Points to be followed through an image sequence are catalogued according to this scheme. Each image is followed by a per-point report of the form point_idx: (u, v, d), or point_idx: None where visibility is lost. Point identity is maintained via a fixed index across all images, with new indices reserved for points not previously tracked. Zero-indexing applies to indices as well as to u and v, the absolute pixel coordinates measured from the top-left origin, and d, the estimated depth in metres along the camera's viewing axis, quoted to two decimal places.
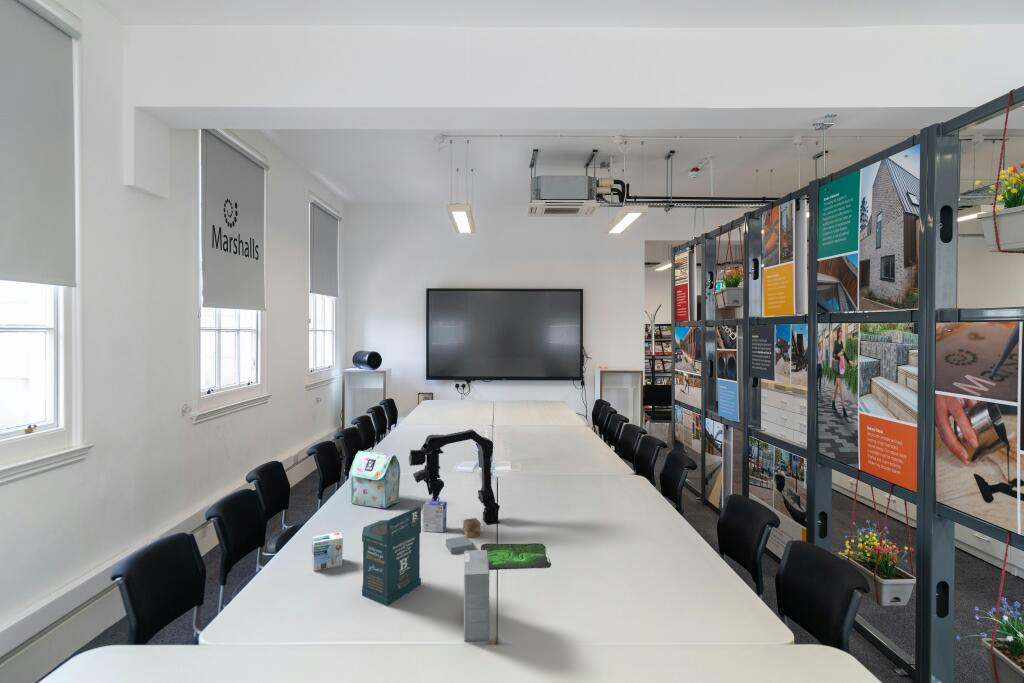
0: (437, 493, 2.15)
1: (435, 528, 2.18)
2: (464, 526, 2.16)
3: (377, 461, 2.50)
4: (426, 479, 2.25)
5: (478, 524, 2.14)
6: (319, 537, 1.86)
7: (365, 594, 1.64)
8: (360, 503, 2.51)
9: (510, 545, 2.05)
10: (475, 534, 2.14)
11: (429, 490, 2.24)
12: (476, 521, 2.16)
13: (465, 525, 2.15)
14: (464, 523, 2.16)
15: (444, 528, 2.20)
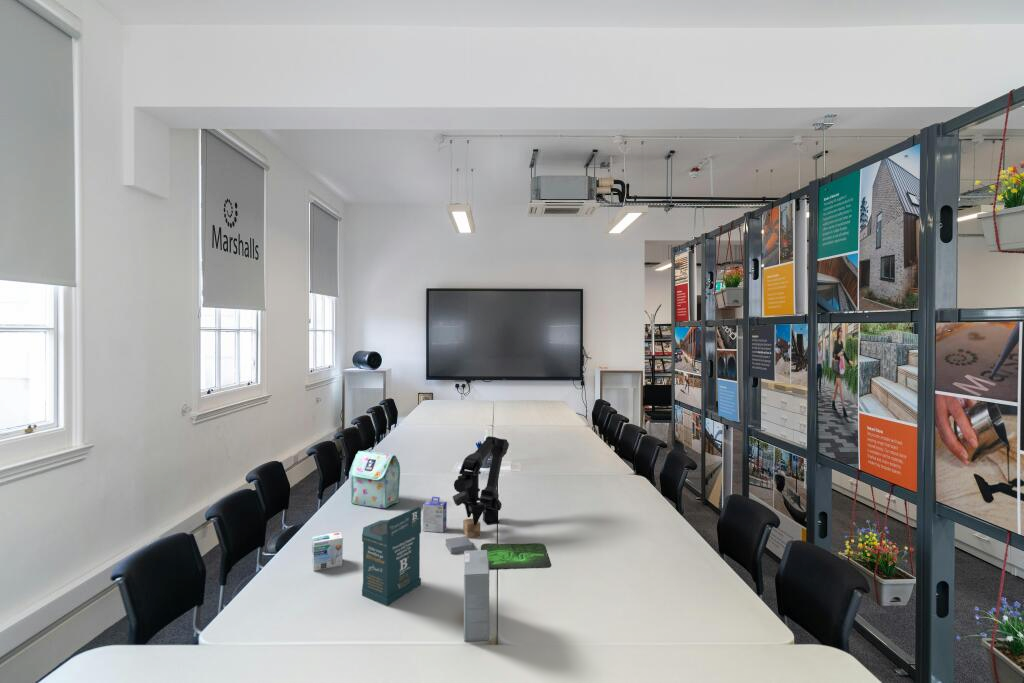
0: (478, 516, 2.11)
1: (435, 528, 2.18)
2: (464, 526, 2.16)
3: (377, 461, 2.50)
4: (465, 501, 2.21)
5: (478, 524, 2.14)
6: (319, 537, 1.86)
7: (365, 594, 1.64)
8: (360, 503, 2.51)
9: (510, 545, 2.05)
10: (475, 534, 2.14)
11: (468, 512, 2.20)
12: None
13: (465, 525, 2.15)
14: (464, 523, 2.16)
15: (444, 528, 2.20)
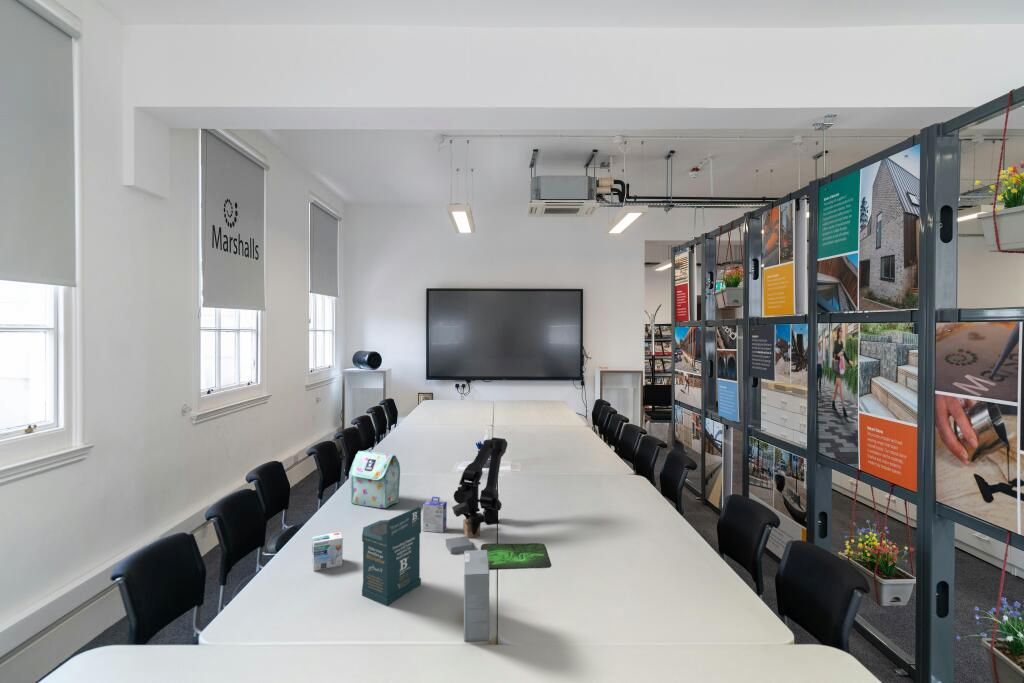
0: (476, 526, 2.12)
1: (435, 528, 2.18)
2: (464, 526, 2.16)
3: (377, 461, 2.50)
4: (465, 513, 2.19)
5: None
6: (319, 537, 1.86)
7: (365, 594, 1.64)
8: (360, 503, 2.51)
9: (510, 545, 2.05)
10: None
11: None
12: None
13: (465, 525, 2.15)
14: (464, 523, 2.16)
15: (444, 528, 2.20)
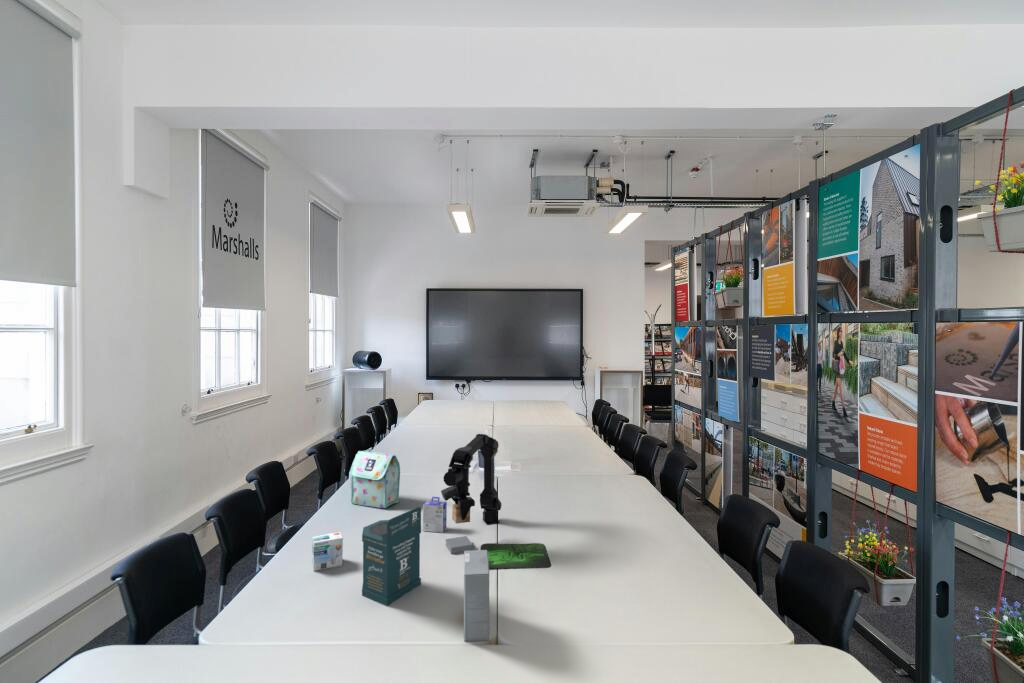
0: (466, 511, 2.01)
1: (435, 528, 2.18)
2: (453, 511, 2.05)
3: (377, 461, 2.50)
4: (455, 498, 2.08)
5: None
6: (319, 537, 1.86)
7: (365, 594, 1.64)
8: (360, 503, 2.51)
9: (510, 545, 2.05)
10: None
11: None
12: None
13: (454, 510, 2.03)
14: (453, 508, 2.05)
15: (444, 528, 2.20)
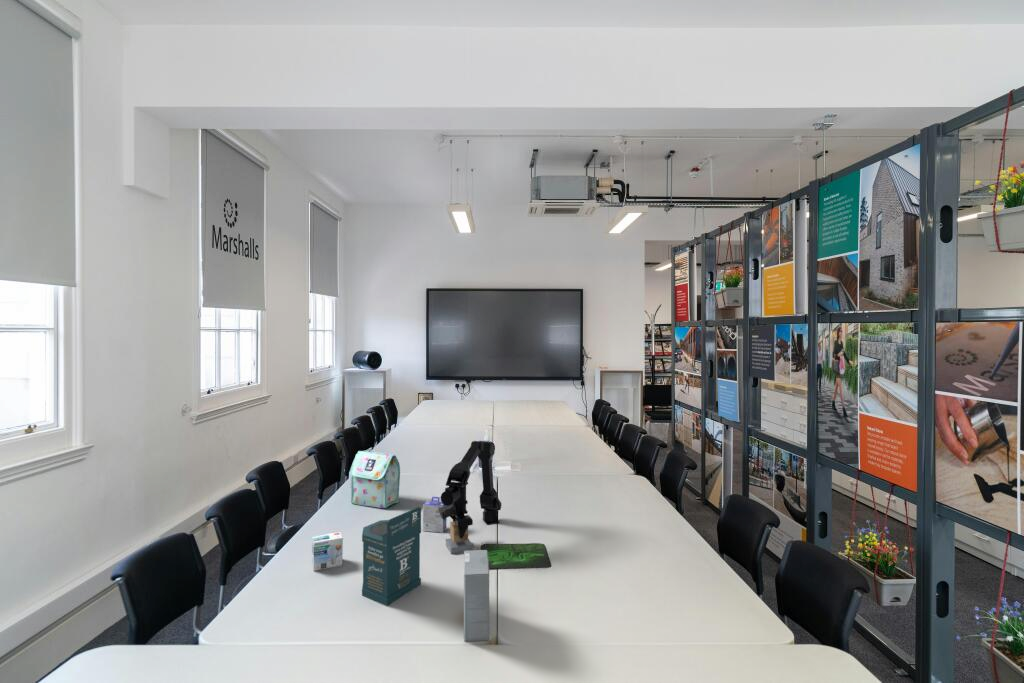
0: (464, 529, 1.99)
1: (435, 528, 2.18)
2: (451, 529, 2.03)
3: (377, 461, 2.50)
4: (452, 515, 2.06)
5: None
6: (319, 537, 1.86)
7: (365, 594, 1.64)
8: (360, 503, 2.51)
9: (510, 545, 2.05)
10: None
11: None
12: None
13: (452, 528, 2.01)
14: (451, 526, 2.03)
15: (444, 528, 2.20)
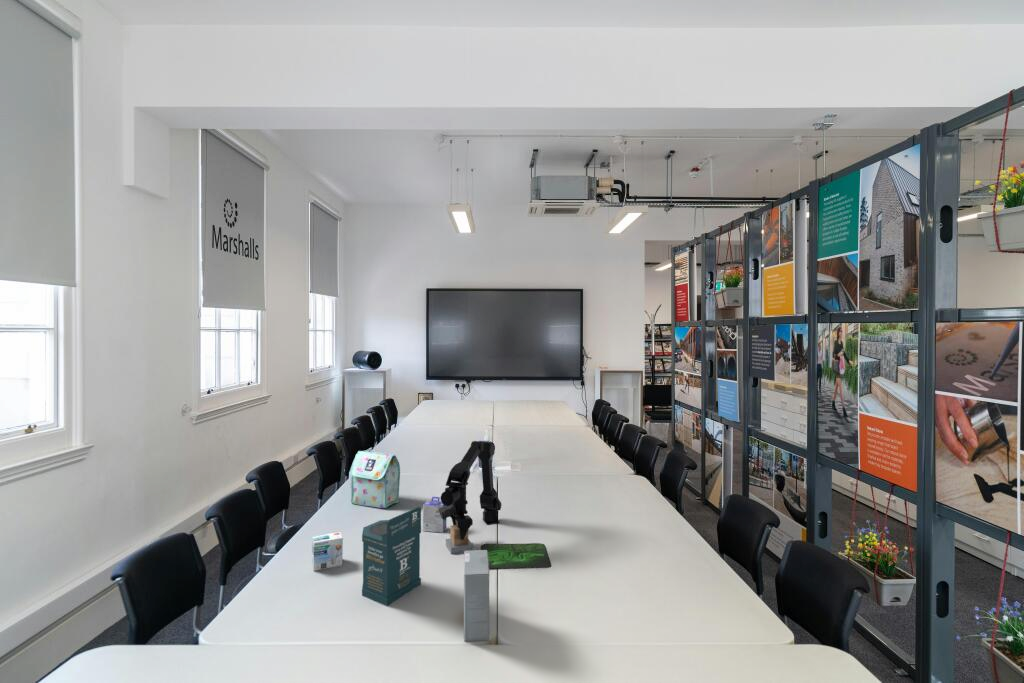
0: (465, 531, 1.97)
1: (435, 528, 2.18)
2: (451, 532, 2.03)
3: (377, 461, 2.50)
4: (451, 514, 2.07)
5: None
6: (319, 537, 1.86)
7: (365, 594, 1.64)
8: (360, 503, 2.51)
9: (510, 545, 2.05)
10: (462, 541, 2.00)
11: None
12: None
13: (452, 532, 2.01)
14: (451, 529, 2.03)
15: (444, 528, 2.20)
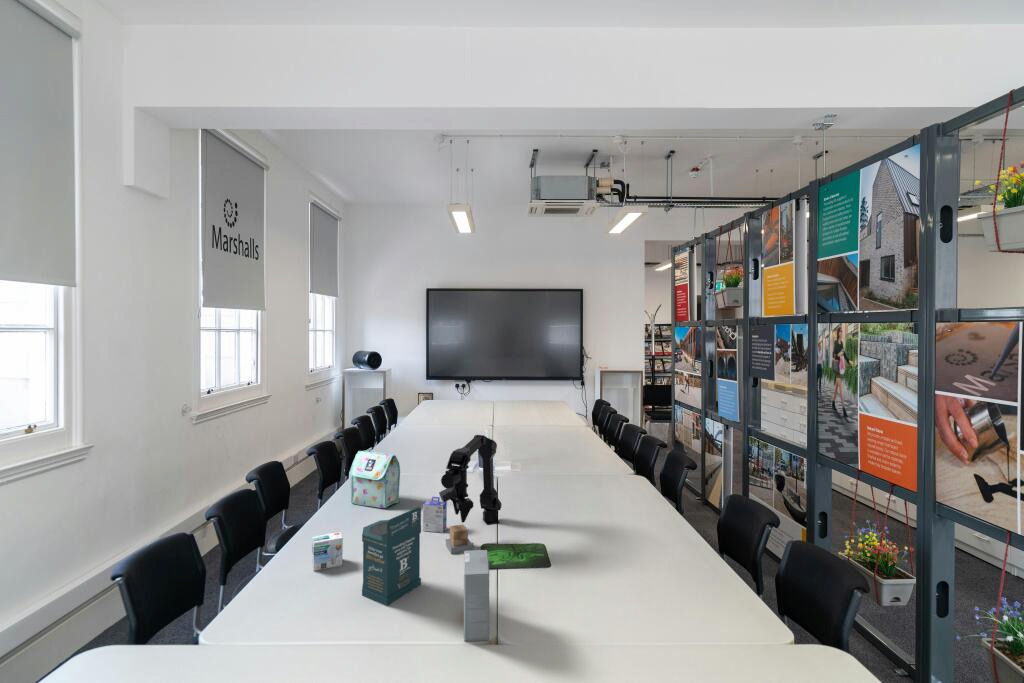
0: (466, 514, 1.99)
1: (435, 528, 2.18)
2: (450, 533, 2.02)
3: (377, 461, 2.50)
4: (452, 497, 2.08)
5: (466, 531, 2.00)
6: (319, 537, 1.86)
7: (365, 594, 1.64)
8: (360, 503, 2.51)
9: (510, 545, 2.05)
10: (462, 541, 2.00)
11: (456, 509, 2.08)
12: (463, 528, 2.02)
13: (451, 532, 2.01)
14: (450, 530, 2.02)
15: (444, 528, 2.20)
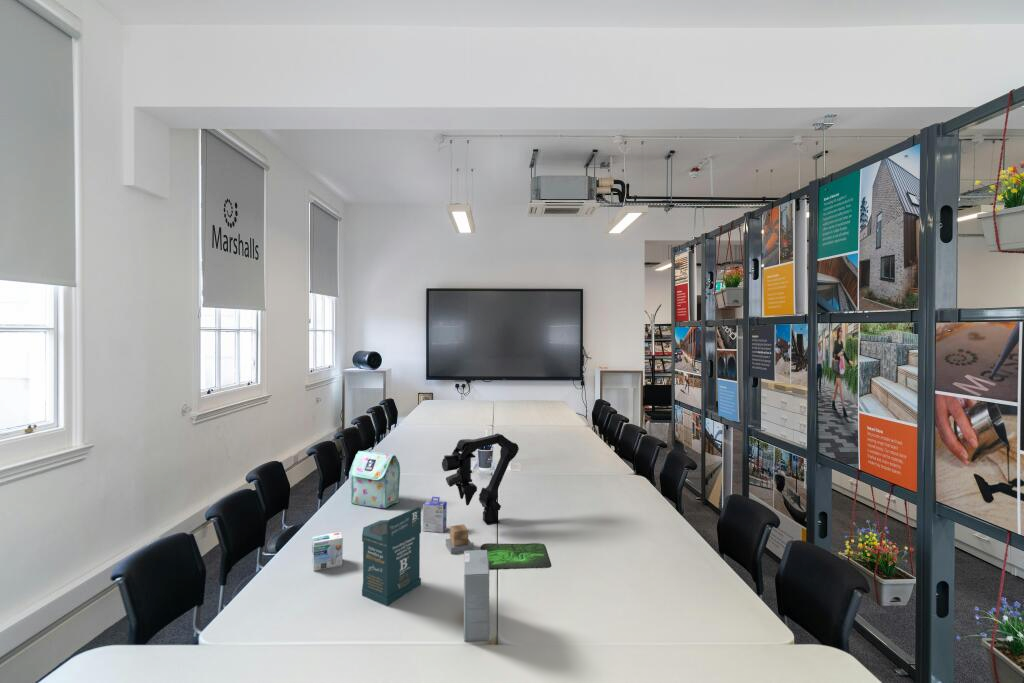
0: (470, 497, 2.18)
1: (435, 528, 2.18)
2: (451, 533, 2.02)
3: (377, 461, 2.50)
4: (457, 483, 2.27)
5: (466, 531, 2.00)
6: (319, 537, 1.86)
7: (365, 594, 1.64)
8: (360, 503, 2.51)
9: (510, 545, 2.05)
10: (462, 541, 2.00)
11: (460, 494, 2.27)
12: (464, 528, 2.02)
13: (452, 532, 2.01)
14: (451, 530, 2.02)
15: (444, 528, 2.20)
